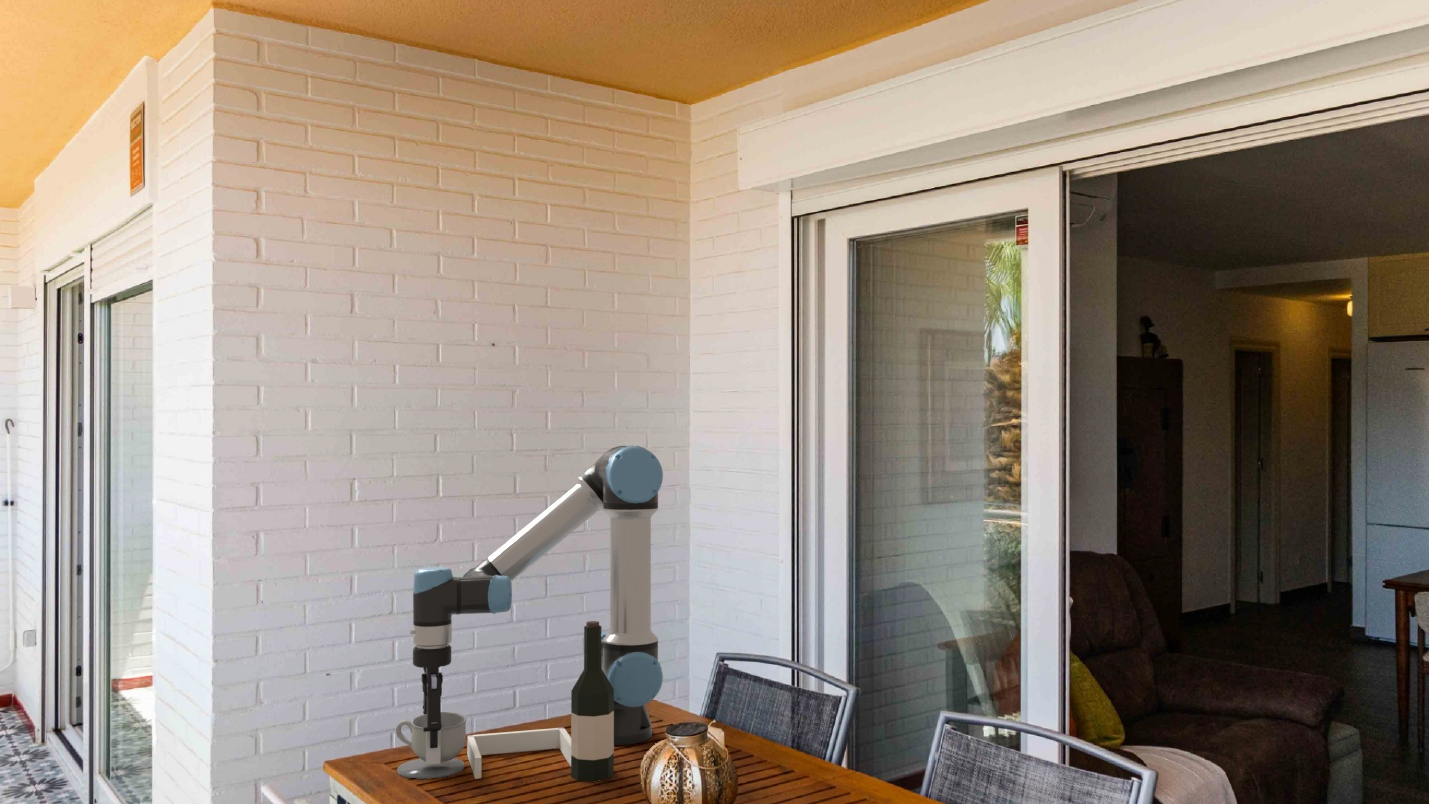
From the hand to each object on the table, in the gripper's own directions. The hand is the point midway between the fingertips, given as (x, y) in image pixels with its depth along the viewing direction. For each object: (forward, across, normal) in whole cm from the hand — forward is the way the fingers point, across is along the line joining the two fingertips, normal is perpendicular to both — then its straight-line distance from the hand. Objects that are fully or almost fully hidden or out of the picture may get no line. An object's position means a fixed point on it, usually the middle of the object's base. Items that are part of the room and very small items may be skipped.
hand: (431, 755), depth 217 cm
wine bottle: (+3, +14, +30) cm, 33 cm away
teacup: (+1, -1, 0) cm, 1 cm away
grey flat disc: (+3, 0, 0) cm, 3 cm away
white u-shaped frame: (+3, +1, +18) cm, 18 cm away
